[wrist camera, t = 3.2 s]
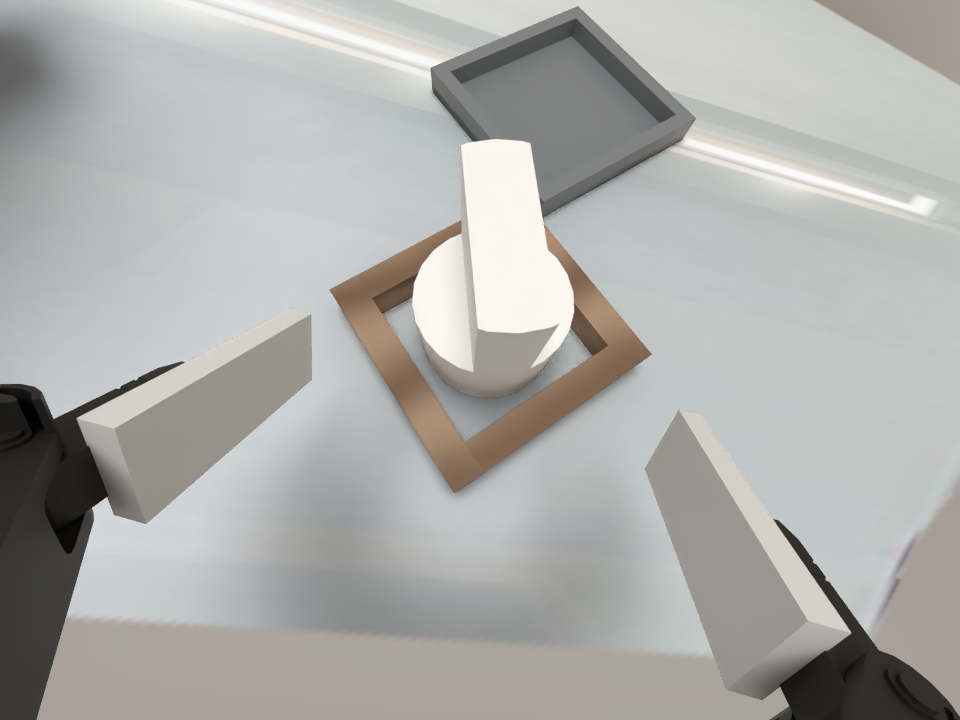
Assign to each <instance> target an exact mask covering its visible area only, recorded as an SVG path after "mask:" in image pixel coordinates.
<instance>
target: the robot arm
mask: <svg viewBox="0 0 960 720" xmlns="http://www.w3.org/2000/svg"><path fill="white" fill-rule="evenodd" d="M311 380H312V348H311V314H310V313H306V312H302V311H298V310H294V309H289V310H287V311H285V312H283V313H281V314H279V315H277V316H275V317H273V318H271V319H269V320H267V321H265V322H263V323H261V324H259V325H257V326H255V327H253V328H252V329H250V330H248V331H246V332H244V333H242V334H240V335H238V336H236V337H234V338H232V339H230V340H228V341H226V342H224V343H222V344H220V345H218V346H216V347H214V348H212V349H211V350H209V351H207V352H205V353H203V354H201V355H199V356H197V357H195V358H193V359H191V360H189V361H187V362H179V363H175V364H171V365H168V366H164V367H160V368H157V369H155V370H153V371H151V372H149V373H147V374H145V375H143V376H141V377H139V378H138V379H137V380H136V381H135V380H133V381H131V382H129V383H127V384H125V385H122V386H121V388H120V389H114V390H112V391H110V392H108V393H106V394H104V395H102V396H100V397H98V398H96V399H94V400H92V401H90V402H88V403H86V404H84V405H82V406H80V407H78V408H76V409H74V410H72V411H69V412H67V413H65V414H63V415H61V416H59V417H57V418H55V419H53V417H52V415H51V412H50V410H49V408H48V405H47V403H46V401H45V398H44V396H43V394H42V392H41V391H40V390H38V389H37V388H36V387H33V386H28V385H22V384H0V720H36V719H37V716H38V712H39V709H40V705H41V702H42V698H43V695H44V691H45V688H46V684H47V681H48V677H49V674H50V670H51V667H52V664H53V660H54V656H55V653H56V650H57V646H58V643H59V639H60V636H61V632H62V629H63V625H64V622H65V618H66V615H67V612H68V608H69V605H70V601H71V598H72V594H73V591H74V587H75V584H76V580H77V577H78V573H79V570H80V566H81V563H82V560H83V556H84V553H85V549H86V546H87V542H88V539H89V535H90V532H91V528H92V525H93V521H94V515H93V510H92V507H94V506H95V505H96V504H98V503H99V502H100V501H102V500H103V499H104V498H106V497H107V498H108V500H109V503H110V505H111V508H112V511H113V513H114V515H116V516H120V517H123V518H127V519H130V520H134V521H137V522H141V523H144V524H147V523H148V522H149V521H150V520H151V519H152V518H154V517H155V516H156V515H157V514H158V513H159V512H160V511H162V510H163V509H164V508H165V507H166V506H167V505H168V504H170V503H171V502H172V501H173V500H174V499H175V498H176V497H178V496H179V495H180V494H181V493H182V492H183V491H184V490H186V489H187V488H188V487H189V486H190V485H191V484H193V483H194V482H195V481H196V480H197V479H198V478H199V477H201V476H202V475H203V474H204V473H205V472H206V471H207V470H209V469H210V468H211V467H212V466H213V465H214V464H215V463H217V462H218V461H219V460H220V459H221V458H222V457H223V456H225V455H226V454H227V453H228V452H229V451H230V450H231V449H233V448H234V447H235V446H236V445H237V444H238V443H240V442H241V441H242V440H243V439H244V438H245V437H246V436H248V435H249V434H250V433H251V432H252V431H253V430H254V429H256V428H257V427H258V426H259V425H260V424H261V423H262V422H264V421H265V420H266V419H267V418H268V417H269V416H270V415H272V414H273V413H274V412H275V411H276V410H277V409H279V408H280V407H281V406H282V405H283V404H284V403H285V402H287V401H288V400H289V399H290V398H291V397H292V396H293V395H295V394H296V393H297V392H298V391H299V390H300V389H301V388H303V387H304V386H305V385H306V384H307V383H308V382H309V381H311ZM645 470H646V473H647V476H648V478H649V481H650V484H651V487H652V489H653V492H654V495H655V497H656V500H657V503H658V506H659V508H660V511H661V514H662V516H663V519H664V522H665V525H666V527H667V530H668V533H669V535H670V538H671V541H672V544H673V546H674V549H675V552H676V555H677V557H678V560H679V563H680V565H681V568H682V571H683V574H684V576H685V579H686V582H687V584H688V587H689V590H690V593H691V595H692V598H693V601H694V603H695V606H696V609H697V612H698V614H699V617H700V620H701V622H702V625H703V628H704V631H705V633H706V636H707V639H708V641H709V644H710V647H711V650H712V652H713V655H714V658H715V660H716V663H717V666H718V669H719V671H720V674H721V677H722V679H723V682H724V685H725V688H726V690H729V691H732V692H736V693H740V694H743V695H747V696H750V697H753V698H757V699H761V700H763V699H764V698H766V697H767V696H768V695H769V694H771V693H772V692H773V691H775V690H776V689H777V688H779V687H781V689H782V692H783V693H784V696H785V698H786V700H787V702H788V704H789V707H788V708H786V709H785V710H783V711H782V712H780V713H779V714H777V715H776V716H774V717H773V718H772V719H770V720H960V717H959V715H958V714H957V713H956V711H955V710H954V708H953V707H952V705H951V704H950V703H949V701H948V700H947V699H946V698H945V697H944V696H943V695H942V694H941V693H940V692H939V691H938V690H937V689H936V688H935V687H934V686H933V685H932V684H931V683H930V682H929V681H928V680H927V679H925V678H924V677H923V676H922V675H921V674H919V673H918V672H917V671H916V670H914V669H913V668H912V667H910V666H909V665H907V664H906V663H904V662H902V661H901V660H899V659H898V658H896V657H894V656H892V655H890V654H887V653H884V652H882V651H879V650H878V649H877V647H876V646H875V644H874V643H873V642H872V640H871V639H870V638H869V636H868V635H867V633H866V632H865V631H864V629H863V628H862V627H861V625H860V624H859V622H858V621H857V620H856V618H855V617H854V615H853V614H852V613H851V611H850V610H849V609H848V607H847V606H846V604H845V603H844V602H843V600H842V599H841V598H840V596H839V595H838V593H837V592H836V591H835V589H834V588H833V586H832V585H831V584H830V582H828V581H826V580H825V578H826V577H825V575H824V574H823V573H822V571H821V570H820V569H819V567H818V566H817V564H814V563H813V559H812V557H811V556H810V555H809V553H808V552H807V551H806V549H805V548H804V546H803V545H802V544H801V542H800V541H799V540H798V539H797V538H796V537H795V536H794V535H793V534H792V533H791V532H790V531H789V530H788V529H787V528H786V527H785V526H784V525H783V524H782V523H781V522H780V521H778V520H775V519H772V517H771V516H770V514H769V513H768V511H767V510H766V509H765V507H764V506H763V504H762V503H761V501H760V500H759V498H758V497H757V496H756V494H755V493H754V491H753V490H752V488H751V487H750V485H749V484H748V483H747V481H746V480H745V478H744V477H743V475H742V474H741V472H740V471H739V470H738V468H737V467H736V465H735V464H734V462H733V461H732V459H731V458H730V457H729V455H728V454H727V452H726V451H725V449H724V448H723V446H722V445H721V443H720V442H719V441H718V439H717V438H716V436H715V435H714V433H713V432H712V430H711V429H710V428H709V426H708V425H707V423H706V422H705V420H704V419H703V417H702V416H701V415H697V414H693V413H689V412H686V411H682V410H678V412H677V414H676V416H675V417H674V419H673V421H672V423H671V424H670V426H669V428H668V429H667V431H666V433H665V435H664V436H663V438H662V440H661V441H660V443H659V445H658V447H657V448H656V450H655V452H654V454H653V455H652V457H651V459H650V460H649V462H648V464H647V466H646V467H645Z"/></svg>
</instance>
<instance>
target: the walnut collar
mask: <svg viewBox="0 0 960 720" xmlns="http://www.w3.org/2000/svg"><path fill="white" fill-rule="evenodd" d="M544 230H545V236H546V242H547V248H548V250H549V251H550V252H551V253H552V254H553V255H554V256H555V257H556V258H557V259H558V261H559V262H560V264H561V265H562V267H563V268H564V270H565V271H566V273H567V274H568V278H569V281H570V284H571V287H572V290H573V295H574V314H573V318H572V322H571V328H572V329H573V330H574V332H575V333H576V334H577V335H578V337H579V338H580V339H581V340H582V342H583V343H584V344H585V346H586V347H587V348H588V349H589V351H590V352H591V353H592V355H593V356H592V357H591V358H589V359H588V360H586V361H585V362H583V363H582V364H581V365H579V366H578V367H576V368H575V369H573V370H572V371H570V372H569V373H567V374H566V375H564V376H563V377H561V378H560V379H558V380H557V381H555V382H554V383H552V384H551V385H549V386H548V387H546V388H545V389H544V390H542V391H541V392H539V393H538V394H536V395H535V396H533V397H532V398H530V399H529V400H527V401H526V402H524V403H523V404H521V405H520V406H518V407H517V408H515V409H514V410H512V411H511V412H509V413H508V414H506V415H505V416H504V417H502V418H501V419H499V420H498V421H496V422H495V423H493V424H492V425H490V426H489V427H487V428H486V429H484V430H483V431H481V432H480V433H478V434H477V435H475V436H474V437H472V438H471V439H469V440H468V441H467V442H464V441H463V439H462V438H461V436H460V434H459V433H458V431H457V430H456V428H455V427H454V425H453V424H452V422H451V420H450V419H449V417H448V416H447V414H446V413H445V411H444V410H443V408H442V406H441V405H440V403H439V402H438V400H437V399H436V397H435V395H434V394H433V392H432V391H431V389H430V388H429V386H428V385H427V383H426V381H425V380H424V378H423V377H422V375H421V374H420V372H419V371H418V369H417V367H416V366H415V364H414V363H413V361H412V360H411V358H410V356H409V355H408V353H407V352H406V350H405V349H404V347H403V346H402V344H401V342H400V341H399V339H398V338H397V336H396V335H395V333H394V332H393V330H392V328H391V327H390V325H389V324H388V322H387V321H386V319H385V317H384V316H383V314H382V313H383V312H385V311H387V310H389V309H391V308H392V307H394V306H396V305H398V304H400V303H401V302H403V301H405V300H407V299H408V298H410V297H412V296H413V290H414V282H415V280H416V278H417V275H418V273H419V270H420V268H421V266H422V264H423V263H424V262H425V260H426V259H427V258H428V257H429V255H430V254H431V253H432V252H433V250H435V249H436V248H437V247H439V246H440V245H441V244H443V243H444V242H446V241H447V240H448V239H450V238H452V237H455V236H457V235H460V234H461V221H459V222H457V223H455V224H453V225H451V226H449V227H447V228H446V229H444V230H442V231H440V232H438V233H436V234H434V235H432V236H430V237H428V238H427V239H425V240H423V241H421V242H419V243H417V244H415V245H413V246H411V247H410V248H408V249H406V250H404V251H402V252H400V253H398V254H396V255H394V256H392V257H391V258H389V259H387V260H385V261H383V262H381V263H379V264H377V265H375V266H373V267H372V268H370V269H368V270H366V271H364V272H362V273H360V274H358V275H356V276H354V277H353V278H351V279H349V280H347V281H345V282H343V283H341V284H339V285H337V286H335V287H334V288H332V289H330V291H331V293H332V294H333V296H334V298H335V299H336V301H337V302H338V304H339V306H340V307H341V309H342V311H343V312H344V314H345V316H346V317H347V319H348V320H349V322H350V324H351V325H352V327H353V329H354V330H355V332H356V334H357V335H358V337H359V338H360V340H361V342H362V343H363V345H364V347H365V348H366V350H367V352H368V353H369V355H370V356H371V358H372V360H373V361H374V363H375V365H376V366H377V368H378V370H379V371H380V373H381V374H382V376H383V378H384V379H385V381H386V383H387V384H388V386H389V388H390V389H391V391H392V392H393V394H394V396H395V397H396V399H397V401H398V402H399V404H400V406H401V407H402V409H403V410H404V412H405V414H406V415H407V417H408V419H409V420H410V422H411V424H412V425H413V427H414V428H415V430H416V432H417V433H418V435H419V437H420V438H421V440H422V442H423V443H424V445H425V446H426V448H427V450H428V451H429V453H430V455H431V456H432V458H433V460H434V461H435V463H436V464H437V466H438V468H439V469H440V471H441V473H442V474H443V476H444V477H445V479H446V481H447V482H448V484H449V486H450V487H451V489H452V491H453V492H454V493H456V492H457V491H459V490H460V489H461V488H463V487H464V486H466V485H467V484H469V483H470V482H471V481H473V480H474V479H476V478H477V477H478V476H480V475H481V474H483V473H484V472H486V471H487V470H488V469H490V468H491V467H493V466H494V465H495V464H497V463H498V462H500V461H501V460H503V459H504V458H505V457H507V456H508V455H510V454H511V453H513V452H514V451H515V450H517V449H518V448H520V447H521V446H522V445H524V444H525V443H527V442H528V441H530V440H531V439H532V438H534V437H535V436H537V435H538V434H540V433H541V432H542V431H544V430H545V429H547V428H548V427H549V426H551V425H552V424H554V423H555V422H557V421H558V420H559V419H561V418H562V417H564V416H565V415H567V414H568V413H569V412H571V411H572V410H574V409H575V408H576V407H578V406H579V405H581V404H582V403H584V402H585V401H586V400H588V399H589V398H591V397H592V396H594V395H595V394H596V393H598V392H599V391H601V390H602V389H603V388H605V387H606V386H608V385H609V384H611V383H612V382H613V381H615V380H616V379H618V378H619V377H620V376H622V375H623V374H625V373H626V372H628V371H629V370H630V369H632V368H633V367H635V366H636V365H638V364H639V363H640V362H642V361H643V360H645V359H646V358H647V357H649V356H650V355H652V354H651V353H650V352H649V350H648V349H647V348H646V347H645V346H644V344H643V343H642V342H641V341H640V340H639V338H638V337H637V336H636V335H635V334H634V332H633V331H632V330H631V329H630V328H629V326H628V325H627V324H626V323H625V321H624V320H623V319H622V318H621V317H620V315H619V314H618V313H617V312H616V311H615V309H614V308H613V307H612V306H611V305H610V303H609V302H608V301H607V300H606V299H605V297H604V296H603V295H602V294H601V292H600V291H599V290H598V289H597V288H596V286H595V285H594V284H593V283H592V282H591V280H590V279H589V278H588V277H587V276H586V274H585V273H584V272H583V271H582V270H581V268H580V267H579V266H578V265H577V263H576V262H575V261H574V260H573V259H572V257H571V256H570V255H569V254H568V253H567V251H566V250H565V249H564V248H563V247H562V245H561V244H560V243H559V242H558V241H557V239H556V238H555V237H554V236H553V234H552V233H551V232H550V231H549V230H548V228H547V227H546V226H545V225H544Z"/></svg>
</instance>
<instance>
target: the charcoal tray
mask: <svg viewBox="0 0 960 720" xmlns="http://www.w3.org/2000/svg"><path fill="white" fill-rule="evenodd" d="M431 77H432V90H433V93H434V94H435V95H436V96H437V97H438V99H439V100H440V101H441V102H442V104H443V105H444V106H445V107H446V108H447V110H448V111H449V112H450V113H451V114H452V116H453V117H454V118H455V119H456V120H457V122H458V123H459V124H460V125H461V127H462V128H463V129H464V130H465V131H466V133H467V134H468V135H469V136H470V137H471V139H472V140H473V141H474V142H477V141H484V140H492V139H502V140H515V141H524V142H528V143H530V144H531V151H532V157H533V163H534V169H535V175H536V181H537V187H538V193H539V199H540V205H541V211H542V217H543V216H545V215H547V214H549V213H551V212H552V211H554V210H556V209H558V208H560V207H561V206H563V205H565V204H567V203H569V202H570V201H572V200H574V199H576V198H578V197H580V196H581V195H583V194H585V193H587V192H589V191H590V190H592V189H594V188H596V187H598V186H599V185H601V184H603V183H605V182H607V181H608V180H610V179H612V178H614V177H616V176H617V175H619V174H621V173H623V172H625V171H626V170H628V169H630V168H632V167H634V166H635V165H637V164H639V163H641V162H643V161H644V160H646V159H648V158H650V157H652V156H653V155H655V154H657V153H659V152H661V151H662V150H664V149H666V148H668V147H670V146H671V145H673V144H675V143H677V142H679V141H680V140H682V139H683V138H684V136H685V134H686V133H687V131H688V130H689V128H690V127H691V125H692V124H693V122H694V121H695V119H696V118H695V117H694V116H693V115H692V114H691V113H690V112H689V111H688V110H687V109H685V108H684V107H683V106H682V105H681V104H680V103H679V102H678V101H677V100H676V99H675V98H674V97H673V96H672V95H671V94H670V93H669V92H668V91H667V90H665V89H664V88H663V87H662V86H661V85H660V84H659V83H658V82H657V81H656V80H655V79H654V78H653V77H652V76H651V75H650V74H649V73H648V72H647V71H646V70H644V69H643V68H642V67H641V66H640V65H639V64H638V63H637V62H636V61H635V60H634V59H633V58H632V57H631V56H630V55H629V54H628V53H627V52H626V51H624V50H623V49H622V48H621V47H620V46H619V45H618V44H617V43H616V42H615V41H614V40H613V39H612V38H611V37H610V36H609V35H608V34H607V33H606V32H605V31H603V30H602V29H601V28H600V27H599V26H598V25H597V24H596V23H595V22H594V21H593V20H592V19H591V18H590V17H589V16H588V15H587V14H586V13H585V12H584V11H582V10H581V9H580V8H579V7H578V6H577V7H575V8H573V9H570V10H568V11H565V12H563V13H561V14H558V15H556V16H553V17H551V18H549V19H546V20H544V21H541V22H539V23H537V24H534V25H532V26H529V27H527V28H525V29H522V30H520V31H518V32H515V33H513V34H510V35H508V36H506V37H503V38H501V39H498V40H496V41H494V42H491V43H489V44H486V45H484V46H482V47H479V48H477V49H474V50H472V51H470V52H467V53H465V54H462V55H460V56H458V57H455V58H453V59H450V60H448V61H446V62H443V63H441V64H439V65H436V66H434V67H431Z"/></svg>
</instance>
